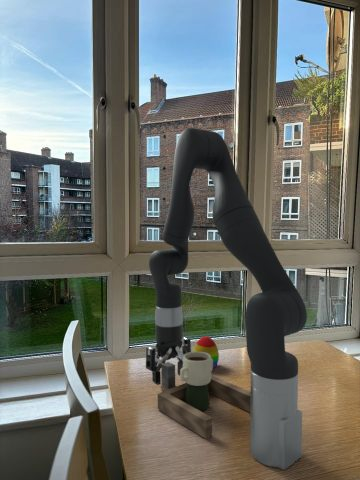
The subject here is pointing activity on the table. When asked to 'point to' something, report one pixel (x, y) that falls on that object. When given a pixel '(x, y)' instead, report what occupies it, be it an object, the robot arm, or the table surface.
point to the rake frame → (187, 415)
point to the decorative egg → (208, 348)
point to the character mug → (197, 378)
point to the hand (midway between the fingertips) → (169, 379)
